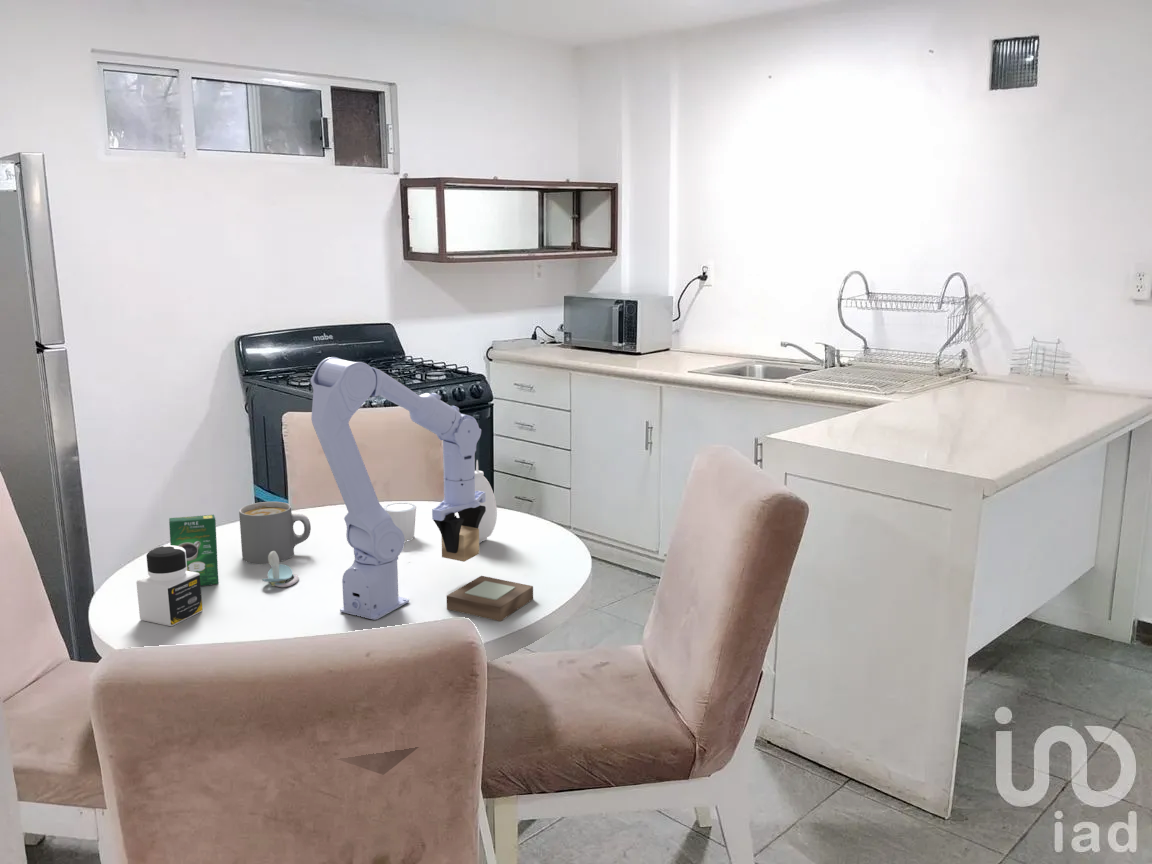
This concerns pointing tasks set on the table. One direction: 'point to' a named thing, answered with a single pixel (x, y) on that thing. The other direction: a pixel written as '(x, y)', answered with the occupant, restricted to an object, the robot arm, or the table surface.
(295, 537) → the coffee mug
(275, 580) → the pacifier
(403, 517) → the white cup
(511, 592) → the walnut base
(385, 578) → the robot arm
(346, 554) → the table surface
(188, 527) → the coffee box
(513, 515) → the table surface
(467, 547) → the oak cube
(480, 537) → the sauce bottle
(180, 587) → the medicine bottle
